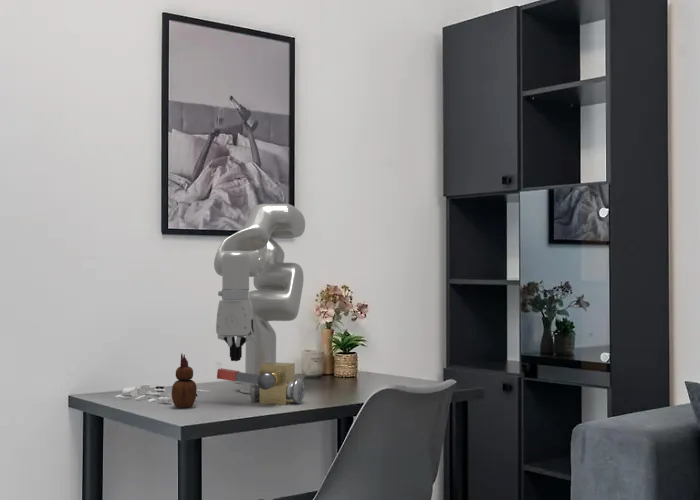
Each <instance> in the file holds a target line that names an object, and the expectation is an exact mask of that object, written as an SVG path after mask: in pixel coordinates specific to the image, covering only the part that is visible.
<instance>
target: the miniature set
mask: <svg viewBox="0 0 700 500" xmlns="http://www.w3.org/2000/svg"><path fill="white" fill-rule="evenodd" d="M150 386H151V384H150V383H143V384H141V385H140V387H139V389H140V391H141V392H139V393H138V391H137V389H138V388H137V386H131V387H129V386H126V387H125V388H123V389H122V390H121V394H118V395H115V396H114V398H117V399H124V398H125V396H126V397H135V400H136V401H137V400H141V399H143V398H146V395H158V396H159V395H161V394H162V393H165V392H166V391H167V390H166V388H165V386H164V385H162V386H159V385H156V386H155V388H154V389H153V390H154V391H155V392H152V390H151V388H150ZM171 391H172V388H171ZM202 392H204V393H206V392H207V393H208V392H210V390H203V389H197V392H196V397H198V394H200V393H202ZM138 394H143V395H140V396H138ZM136 396H138V397H136ZM168 396H169V397H168ZM154 402H157V404H171V405H172V404H173V400H172V393H166V395H165V396H159V397H158V398H154V397H152V398H150V399H148V400H147V403H154Z"/></svg>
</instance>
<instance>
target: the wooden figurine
mask: <svg viewBox="0 0 700 500" xmlns="http://www.w3.org/2000/svg"><path fill="white" fill-rule="evenodd" d="M185 355H186V354H183V352H182V353H180V365H179V367H177V368H176V370H175V378H176V381H175V382H174V383H173V384H172V387H171V389H172V390H171V394H172V395H171V398H172V404H173V405H174V407H176V408H178V409H188V408H191V407H193V406H194V405H195V401H196V397H197V396H196V394H197V393H198V392H197V390H198V389H197V384H196V382H195V381H194V380H192V379H193V377H194V369H193V368H192V367H191V366H189V360H187V358H186V356H185Z"/></svg>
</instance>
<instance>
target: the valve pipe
mask: <svg viewBox="0 0 700 500" xmlns="http://www.w3.org/2000/svg"><path fill="white" fill-rule="evenodd" d="M295 366H296V363H295V362H277V361H276V362H268V363H264V364H260V375H262V374H265V373H272V374H273V375H274V376H275V377H276V384H275V386H274V387H272V388H270V389H267V390H263V389H261V388H260V387H259V386H258V384H253V383H251V385H250V394H249V395H250V399H251V401H252V402H259V404H263V405H264V404H266V405H268V404H269V405H285V406H286V405H289V404H291V403H293V404H299V405H300V404H301V403H302V402H303V399H304V398H305V383H304V380H303V379H302V378H295V377H296V375H295V373H296V372H295V371H296V367H295Z"/></svg>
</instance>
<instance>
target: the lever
mask: <svg viewBox="0 0 700 500" xmlns="http://www.w3.org/2000/svg"><path fill="white" fill-rule="evenodd" d="M216 374H217V375H216V379H218V380H224V381H229V382H230V381H232V382H234V381H241V382H247V383H253V384H258V386H259V387H260V388H261V389H263V390H267V389H270V388H272V387H274V386H275V384H276V377H275V376H274V375H273V374H272V373H265V374H262V375H255V374H249V373H245V372H241V371H240V370H235V369H230V368H229V369H227V368H221V367H220V368H217V372H216Z"/></svg>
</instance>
